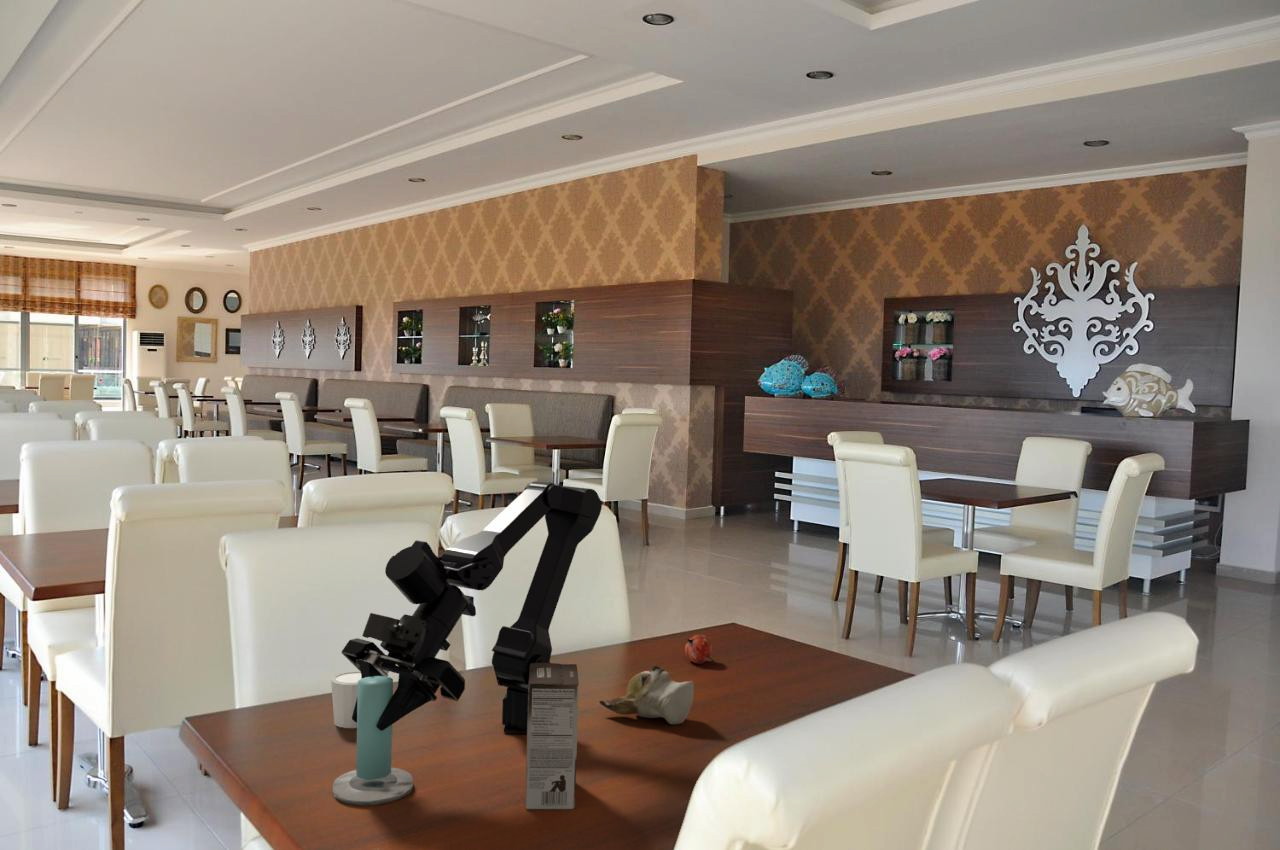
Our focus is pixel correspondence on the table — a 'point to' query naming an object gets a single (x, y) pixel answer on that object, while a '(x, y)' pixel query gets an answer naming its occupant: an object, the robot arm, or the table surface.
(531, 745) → the coffee box
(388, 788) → the hub disc
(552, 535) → the robot arm
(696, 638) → the pomegranate
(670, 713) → the ceramic sculpture
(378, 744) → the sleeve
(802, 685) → the table surface
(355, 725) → the white candle cup
